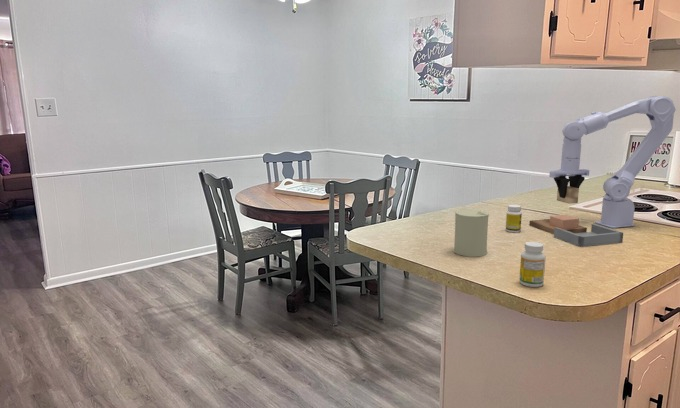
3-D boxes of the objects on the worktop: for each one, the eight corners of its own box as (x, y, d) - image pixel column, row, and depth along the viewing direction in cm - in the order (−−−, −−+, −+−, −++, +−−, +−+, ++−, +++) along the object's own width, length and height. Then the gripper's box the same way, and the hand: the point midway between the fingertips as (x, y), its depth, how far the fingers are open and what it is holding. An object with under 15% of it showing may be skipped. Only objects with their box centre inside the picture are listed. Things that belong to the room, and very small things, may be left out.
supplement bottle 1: (521, 233, 159) (523, 207, 157) (506, 232, 160) (507, 207, 158) (519, 229, 163) (521, 204, 162) (504, 228, 164) (506, 204, 163)
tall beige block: (565, 199, 173) (566, 185, 172) (577, 203, 168) (579, 188, 167) (556, 200, 172) (557, 186, 171) (568, 203, 167) (570, 189, 166)
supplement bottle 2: (539, 289, 112) (541, 248, 110) (515, 284, 115) (518, 244, 113) (546, 282, 116) (549, 243, 114) (524, 277, 119) (526, 239, 117)
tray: (593, 232, 158) (594, 223, 157) (622, 242, 147) (623, 232, 146) (553, 236, 154) (554, 227, 153) (580, 247, 143) (581, 237, 142)
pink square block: (565, 223, 163) (565, 214, 163) (578, 227, 158) (578, 218, 157) (549, 224, 162) (550, 216, 161) (562, 229, 156) (563, 220, 156)
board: (556, 222, 171) (556, 218, 171) (586, 232, 158) (586, 227, 158) (529, 225, 168) (529, 220, 168) (557, 235, 155) (557, 230, 155)
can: (481, 259, 134) (483, 216, 131) (448, 253, 138) (450, 212, 136) (490, 250, 141) (493, 209, 139) (459, 245, 146) (461, 206, 144)
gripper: (580, 155, 172) (576, 193, 175) (544, 157, 169) (541, 196, 172) (595, 157, 166) (591, 197, 169) (558, 159, 162) (555, 200, 165)
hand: (567, 197), depth 170 cm, fingers closed on tall beige block, 4 cm apart
